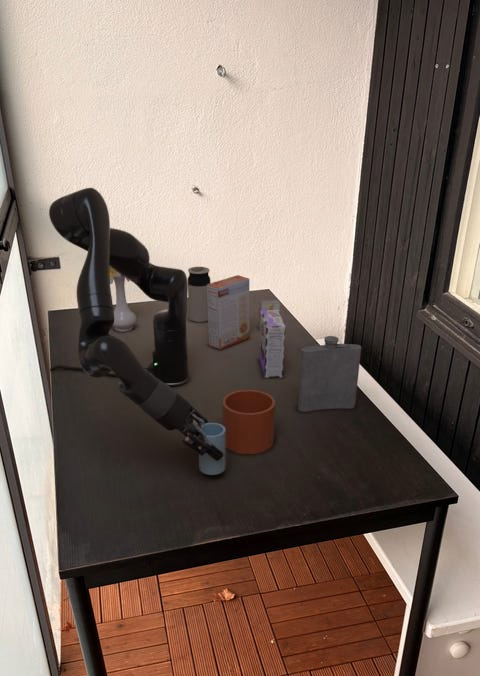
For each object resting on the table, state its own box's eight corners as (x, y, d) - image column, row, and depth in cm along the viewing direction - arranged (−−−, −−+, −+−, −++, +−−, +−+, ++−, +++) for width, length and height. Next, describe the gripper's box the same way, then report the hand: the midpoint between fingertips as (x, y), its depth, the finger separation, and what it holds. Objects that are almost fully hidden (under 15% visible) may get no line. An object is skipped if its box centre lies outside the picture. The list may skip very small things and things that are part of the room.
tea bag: (258, 326, 227) (259, 299, 222) (277, 325, 228) (278, 298, 223) (260, 330, 224) (260, 302, 219) (279, 329, 225) (280, 302, 220)
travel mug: (185, 320, 232) (183, 271, 223) (194, 313, 238) (193, 265, 229) (205, 323, 229) (204, 274, 220) (214, 316, 235) (213, 267, 226)
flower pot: (216, 450, 157) (216, 410, 151) (230, 424, 167) (230, 387, 162) (267, 457, 154) (268, 417, 149) (278, 431, 165) (279, 393, 159)
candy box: (258, 359, 203) (260, 309, 195) (277, 358, 204) (279, 308, 195) (263, 378, 191) (265, 326, 183) (283, 377, 192) (286, 325, 184)
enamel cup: (195, 472, 145) (194, 434, 140) (203, 458, 150) (202, 421, 145) (221, 476, 143) (220, 438, 138) (228, 462, 148) (228, 424, 143)
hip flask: (299, 412, 174) (303, 343, 163) (295, 405, 177) (299, 337, 167) (356, 408, 176) (364, 339, 166) (351, 401, 179) (359, 333, 169)
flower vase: (154, 332, 222) (150, 260, 209) (99, 337, 218) (91, 263, 205) (149, 319, 232) (145, 249, 220) (97, 323, 228) (89, 252, 216)
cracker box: (237, 334, 221) (237, 274, 210) (250, 339, 217) (250, 278, 207) (207, 345, 212) (205, 283, 202) (219, 350, 209) (218, 287, 198)
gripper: (152, 400, 145) (206, 442, 152) (150, 433, 132) (209, 478, 139) (175, 377, 142) (229, 422, 149) (175, 409, 130) (234, 456, 137)
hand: (219, 449), depth 144 cm, fingers closed on enamel cup, 6 cm apart
